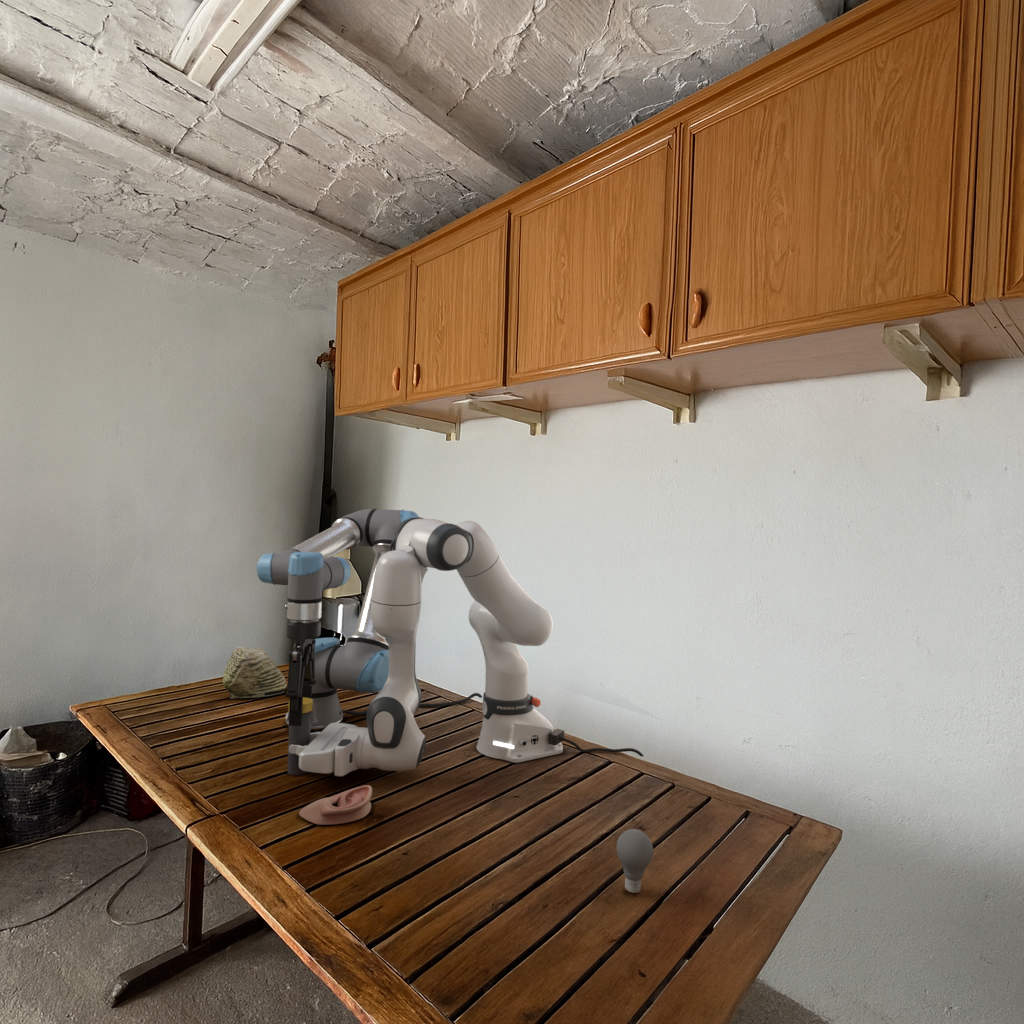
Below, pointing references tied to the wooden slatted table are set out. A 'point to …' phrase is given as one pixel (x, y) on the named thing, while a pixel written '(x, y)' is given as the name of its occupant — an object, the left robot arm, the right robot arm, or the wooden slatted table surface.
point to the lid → (306, 705)
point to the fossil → (252, 674)
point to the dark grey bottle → (302, 738)
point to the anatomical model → (339, 807)
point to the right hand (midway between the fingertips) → (295, 743)
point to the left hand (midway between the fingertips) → (300, 718)
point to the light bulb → (634, 857)
